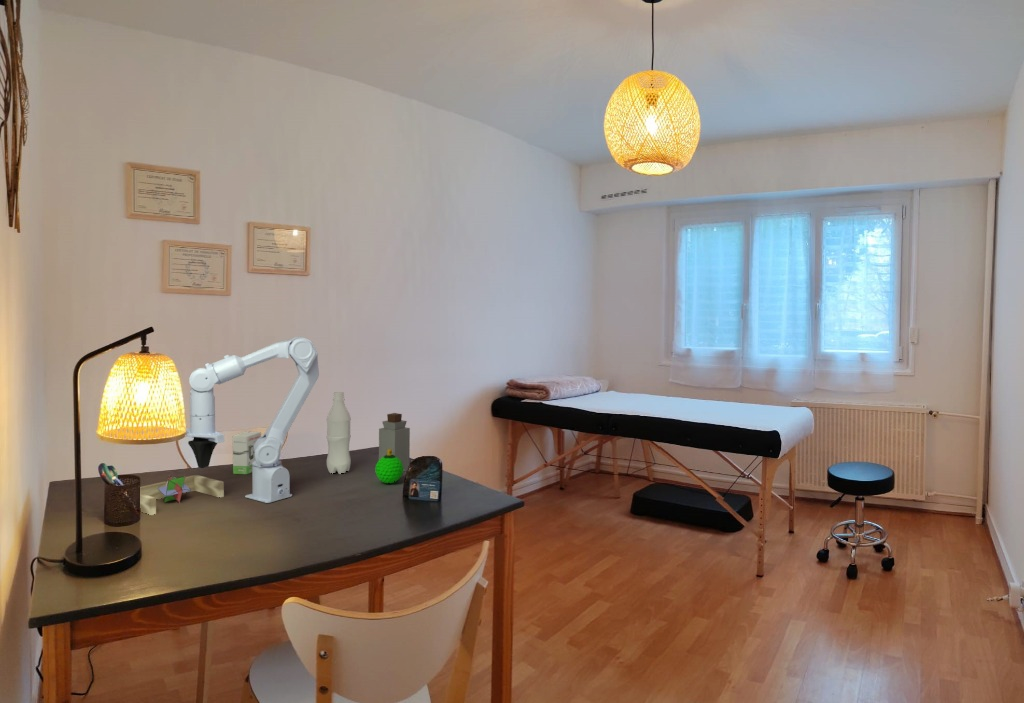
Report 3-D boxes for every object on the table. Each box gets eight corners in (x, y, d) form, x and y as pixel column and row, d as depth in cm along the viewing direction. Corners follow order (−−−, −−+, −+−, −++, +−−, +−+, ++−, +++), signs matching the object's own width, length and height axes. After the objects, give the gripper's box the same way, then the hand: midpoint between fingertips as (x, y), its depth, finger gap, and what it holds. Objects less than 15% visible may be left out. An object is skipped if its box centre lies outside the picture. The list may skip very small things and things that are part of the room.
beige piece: (223, 496, 168) (223, 481, 168) (151, 515, 152) (150, 499, 151) (196, 488, 175) (195, 474, 174) (123, 506, 158) (123, 490, 158)
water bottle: (326, 470, 198) (326, 391, 196) (349, 469, 200) (350, 390, 198) (326, 476, 191) (326, 394, 189) (351, 474, 193) (351, 393, 191)
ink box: (247, 474, 191) (247, 436, 190) (232, 474, 191) (231, 435, 190) (262, 468, 199) (261, 431, 198) (247, 467, 200) (247, 430, 199)
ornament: (390, 488, 179) (390, 453, 178) (369, 484, 183) (369, 450, 182) (409, 482, 186) (409, 448, 185) (388, 478, 190) (388, 445, 189)
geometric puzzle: (198, 493, 163) (188, 466, 165) (172, 499, 157) (161, 471, 160) (186, 506, 166) (176, 479, 169) (160, 512, 161) (149, 485, 163)
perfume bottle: (409, 469, 200) (409, 413, 199) (394, 474, 195) (395, 416, 194) (393, 466, 204) (393, 411, 203) (378, 471, 198) (379, 414, 197)
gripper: (170, 414, 161) (171, 466, 162) (205, 419, 154) (206, 474, 155) (196, 410, 167) (197, 461, 168) (231, 415, 160) (232, 468, 161)
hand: (203, 467), depth 162 cm, fingers closed
